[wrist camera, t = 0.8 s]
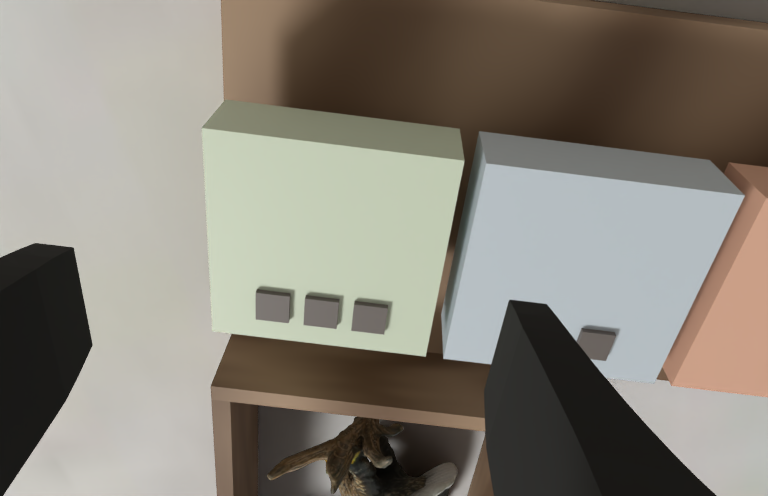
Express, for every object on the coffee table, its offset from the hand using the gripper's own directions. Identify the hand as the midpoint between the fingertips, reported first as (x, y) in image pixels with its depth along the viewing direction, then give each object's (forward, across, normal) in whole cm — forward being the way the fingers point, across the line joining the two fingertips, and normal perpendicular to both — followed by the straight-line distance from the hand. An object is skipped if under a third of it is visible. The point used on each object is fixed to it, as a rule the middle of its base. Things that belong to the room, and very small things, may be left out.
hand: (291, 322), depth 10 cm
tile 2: (+7, -6, +2) cm, 10 cm away
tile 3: (+6, 0, +2) cm, 6 cm away
